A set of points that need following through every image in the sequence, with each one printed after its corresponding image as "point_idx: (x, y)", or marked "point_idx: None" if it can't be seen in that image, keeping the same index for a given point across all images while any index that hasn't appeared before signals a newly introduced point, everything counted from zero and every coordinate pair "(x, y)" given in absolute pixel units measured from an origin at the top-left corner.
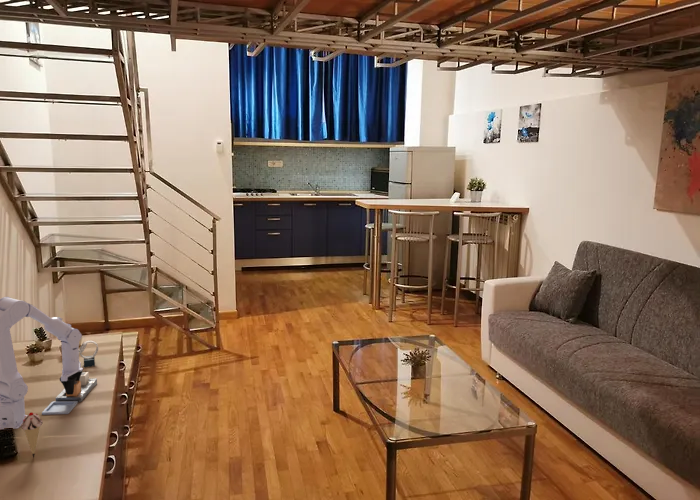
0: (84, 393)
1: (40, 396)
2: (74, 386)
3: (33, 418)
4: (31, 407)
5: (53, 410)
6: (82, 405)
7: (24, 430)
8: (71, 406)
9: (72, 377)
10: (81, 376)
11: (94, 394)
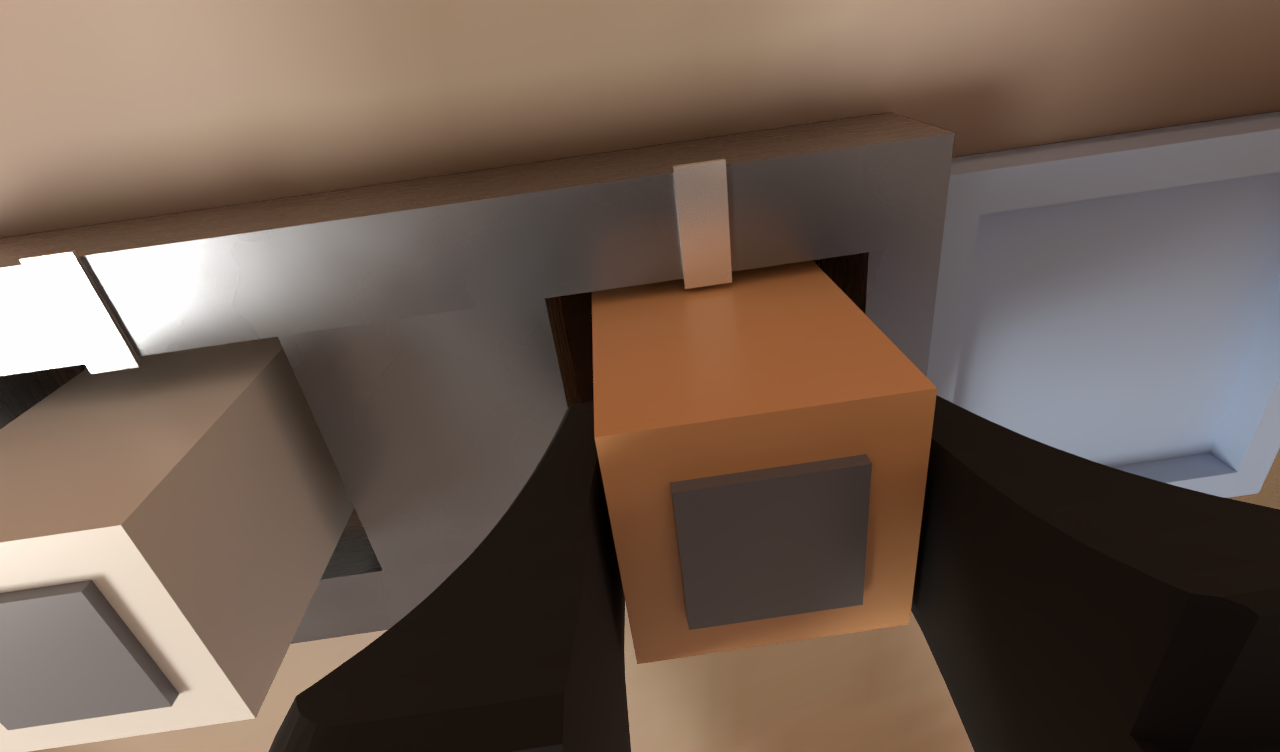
0: (710, 163)
1: (637, 718)
2: (909, 429)
3: None
4: (933, 658)
5: (1144, 401)
6: (1001, 26)
7: None
8: (1195, 166)
9: (1231, 730)
10: (181, 586)
11: (450, 29)
